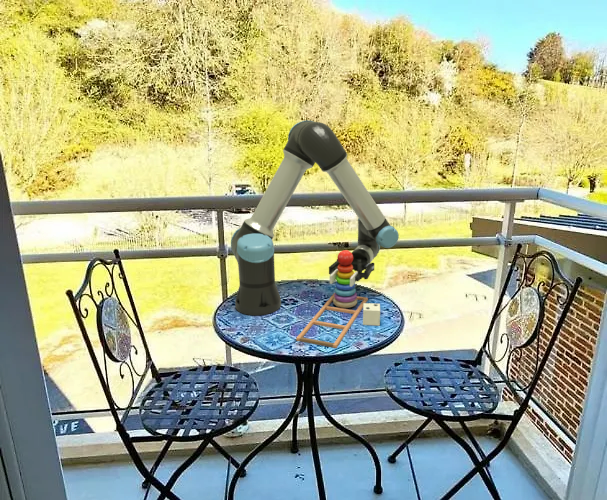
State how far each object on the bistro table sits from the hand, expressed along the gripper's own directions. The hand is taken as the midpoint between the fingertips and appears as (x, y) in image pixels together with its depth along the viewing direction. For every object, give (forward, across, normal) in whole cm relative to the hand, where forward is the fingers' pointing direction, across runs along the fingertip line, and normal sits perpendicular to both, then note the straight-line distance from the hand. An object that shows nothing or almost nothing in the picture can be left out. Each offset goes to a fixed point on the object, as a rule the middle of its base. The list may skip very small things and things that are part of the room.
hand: (340, 281), depth 145 cm
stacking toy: (-5, 0, -10) cm, 11 cm away
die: (+3, -11, -11) cm, 16 cm away
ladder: (+5, 0, -10) cm, 12 cm away
